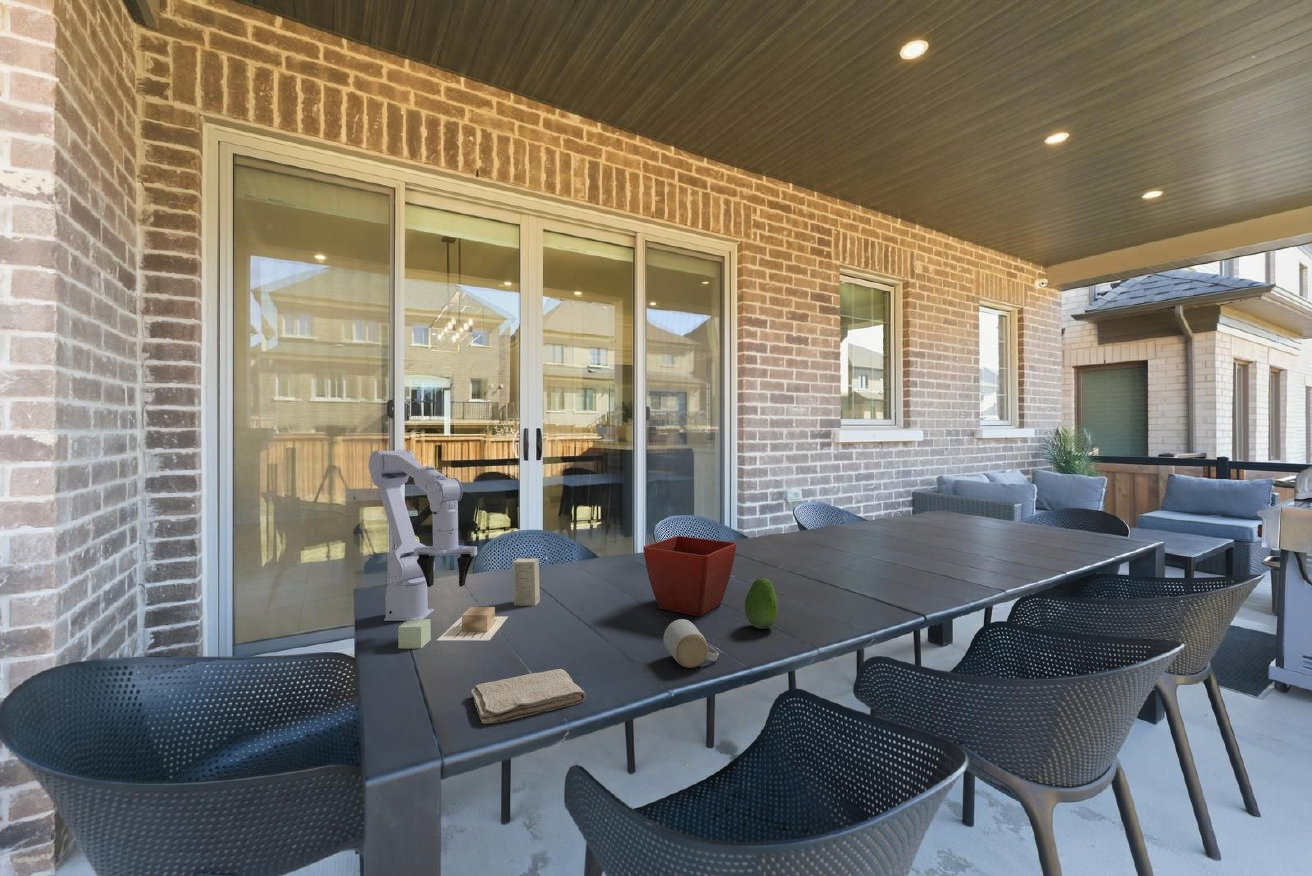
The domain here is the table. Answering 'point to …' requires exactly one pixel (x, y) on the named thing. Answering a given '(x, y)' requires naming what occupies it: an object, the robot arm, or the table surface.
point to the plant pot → (689, 573)
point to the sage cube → (414, 633)
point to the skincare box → (526, 581)
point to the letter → (457, 633)
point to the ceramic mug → (687, 644)
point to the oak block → (478, 619)
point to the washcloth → (525, 695)
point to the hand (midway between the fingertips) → (446, 585)
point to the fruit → (761, 604)
